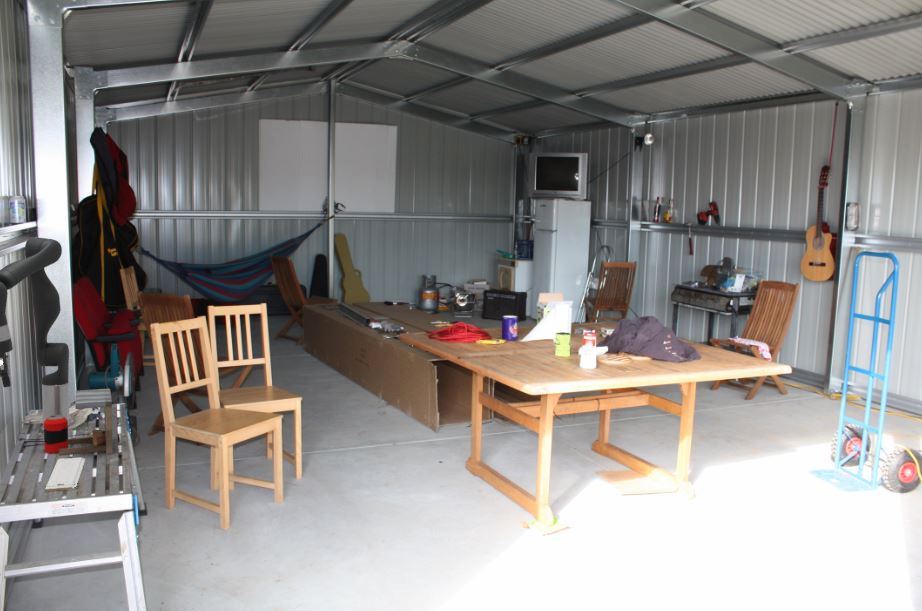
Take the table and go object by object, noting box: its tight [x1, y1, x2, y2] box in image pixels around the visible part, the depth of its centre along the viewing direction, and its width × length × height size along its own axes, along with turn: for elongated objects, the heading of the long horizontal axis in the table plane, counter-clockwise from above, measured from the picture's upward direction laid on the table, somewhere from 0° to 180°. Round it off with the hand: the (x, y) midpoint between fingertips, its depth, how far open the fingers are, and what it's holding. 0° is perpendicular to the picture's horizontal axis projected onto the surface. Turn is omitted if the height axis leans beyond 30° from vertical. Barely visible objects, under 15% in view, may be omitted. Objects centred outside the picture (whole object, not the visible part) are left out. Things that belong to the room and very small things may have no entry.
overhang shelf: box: [58, 388, 113, 456], centre depth 281 cm, size 20×17×19 cm
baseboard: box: [44, 456, 86, 492], centre depth 255 cm, size 30×3×10 cm
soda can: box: [43, 415, 69, 454], centre depth 278 cm, size 8×8×12 cm
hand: (7, 386), depth 271 cm, fingers closed
